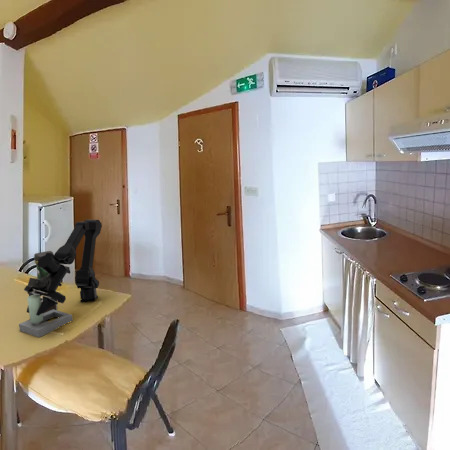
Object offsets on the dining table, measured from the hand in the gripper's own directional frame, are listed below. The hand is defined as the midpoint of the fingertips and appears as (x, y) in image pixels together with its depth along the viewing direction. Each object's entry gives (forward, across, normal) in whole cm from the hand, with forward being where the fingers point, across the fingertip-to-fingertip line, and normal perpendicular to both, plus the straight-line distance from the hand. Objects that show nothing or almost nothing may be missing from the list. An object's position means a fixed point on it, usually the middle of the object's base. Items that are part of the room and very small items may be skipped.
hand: (32, 313), depth 132 cm
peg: (+4, 0, +6) cm, 8 cm away
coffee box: (-12, -22, +18) cm, 31 cm away
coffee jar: (-20, -43, +31) cm, 57 cm away
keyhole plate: (+2, 0, +9) cm, 9 cm away
